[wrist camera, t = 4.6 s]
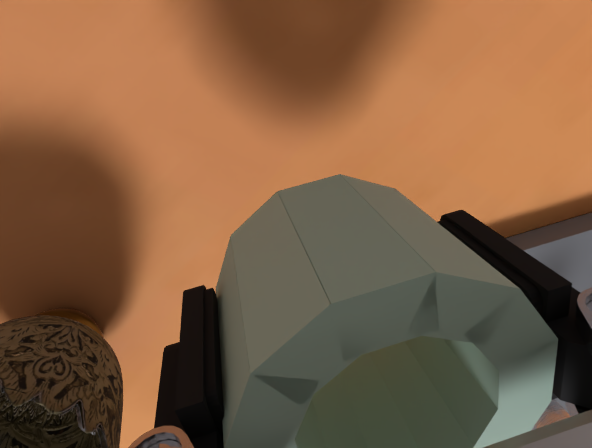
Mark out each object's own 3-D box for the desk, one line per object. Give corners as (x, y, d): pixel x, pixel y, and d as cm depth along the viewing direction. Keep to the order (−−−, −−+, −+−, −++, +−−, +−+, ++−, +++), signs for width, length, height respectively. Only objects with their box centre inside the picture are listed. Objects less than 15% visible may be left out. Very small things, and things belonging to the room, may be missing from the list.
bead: (188, 215, 10) (178, 350, 6) (422, 151, 11) (570, 230, 7) (251, 388, 13) (276, 566, 9) (434, 330, 14) (543, 469, 9)
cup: (22, 236, 18) (-107, 366, 10) (175, 308, 20) (156, 449, 13) (-50, 359, 19) (-205, 546, 12) (102, 410, 22) (49, 587, 15)
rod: (486, 362, 24) (606, 496, 17) (517, 352, 24) (649, 480, 17) (487, 387, 25) (601, 524, 18) (517, 377, 25) (642, 509, 18)
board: (347, 285, 22) (356, 300, 21) (613, 205, 23) (638, 215, 22) (383, 473, 29) (392, 495, 27) (589, 403, 30) (606, 419, 29)
